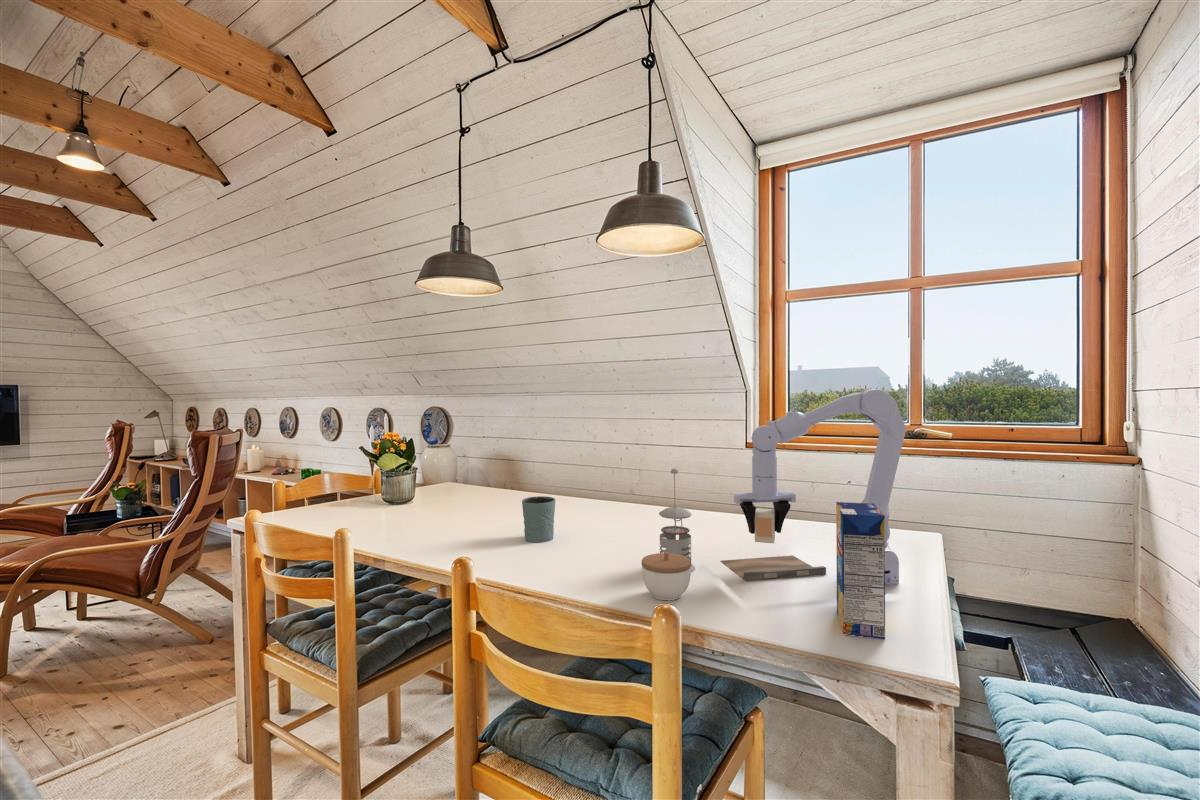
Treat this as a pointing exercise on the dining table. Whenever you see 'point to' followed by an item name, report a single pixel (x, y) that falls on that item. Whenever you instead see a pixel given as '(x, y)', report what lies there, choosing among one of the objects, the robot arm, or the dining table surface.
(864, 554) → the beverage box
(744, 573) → the shelf board
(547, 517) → the teal textured cup
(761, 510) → the carton
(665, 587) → the lidded jar
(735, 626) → the dining table surface
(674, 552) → the french press
